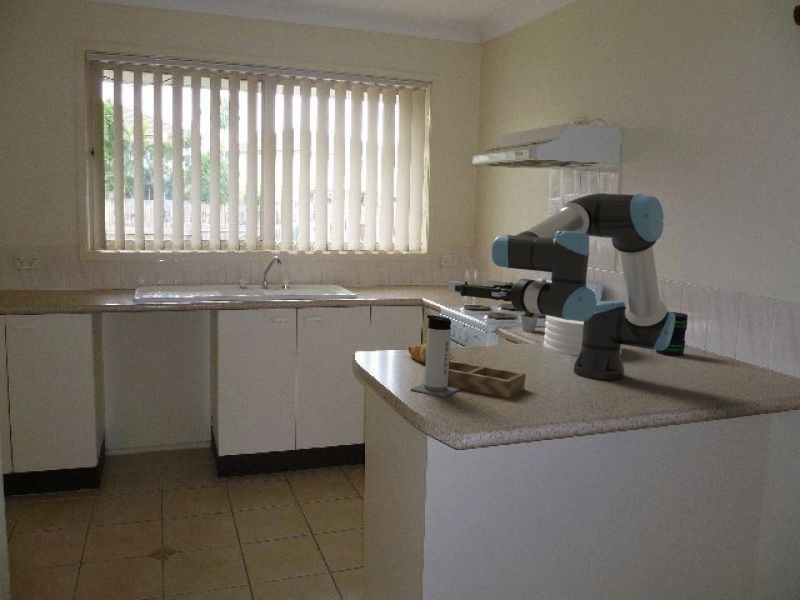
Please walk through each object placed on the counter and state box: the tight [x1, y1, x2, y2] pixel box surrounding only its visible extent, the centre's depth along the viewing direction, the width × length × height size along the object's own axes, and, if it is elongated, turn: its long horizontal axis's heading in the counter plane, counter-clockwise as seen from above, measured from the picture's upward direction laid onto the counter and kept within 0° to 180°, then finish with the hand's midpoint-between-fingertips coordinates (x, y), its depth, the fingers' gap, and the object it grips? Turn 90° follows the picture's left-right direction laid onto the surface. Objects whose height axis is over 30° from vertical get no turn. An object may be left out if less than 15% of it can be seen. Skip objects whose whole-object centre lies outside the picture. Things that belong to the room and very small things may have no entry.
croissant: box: [408, 341, 456, 365], centre depth 224 cm, size 21×10×8 cm, turn 43°
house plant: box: [520, 311, 539, 333], centre depth 289 cm, size 14×14×16 cm
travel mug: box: [424, 314, 452, 391], centre depth 189 cm, size 6×7×20 cm
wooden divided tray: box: [448, 360, 526, 399], centre depth 197 cm, size 25×12×4 cm, turn 59°
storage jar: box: [655, 311, 689, 357], centre depth 258 cm, size 10×10×15 cm
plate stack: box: [543, 315, 623, 357], centre depth 259 cm, size 28×28×12 cm
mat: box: [410, 382, 462, 398], centre depth 190 cm, size 10×10×1 cm
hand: (468, 285), depth 179 cm, fingers open, 13 cm apart
